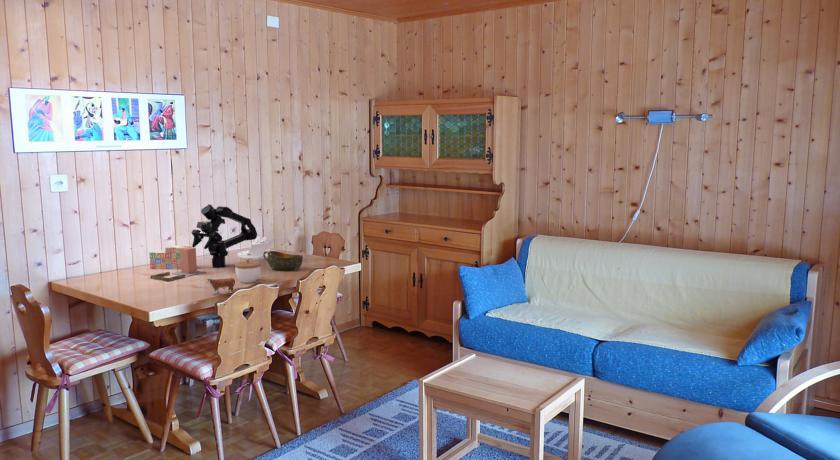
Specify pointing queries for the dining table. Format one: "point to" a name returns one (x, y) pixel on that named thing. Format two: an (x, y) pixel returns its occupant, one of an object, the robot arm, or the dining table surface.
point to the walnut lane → (159, 276)
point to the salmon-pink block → (188, 260)
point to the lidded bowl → (248, 271)
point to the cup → (283, 261)
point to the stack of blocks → (166, 258)
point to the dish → (257, 249)
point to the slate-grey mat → (189, 274)
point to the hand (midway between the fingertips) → (198, 247)
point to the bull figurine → (221, 284)
